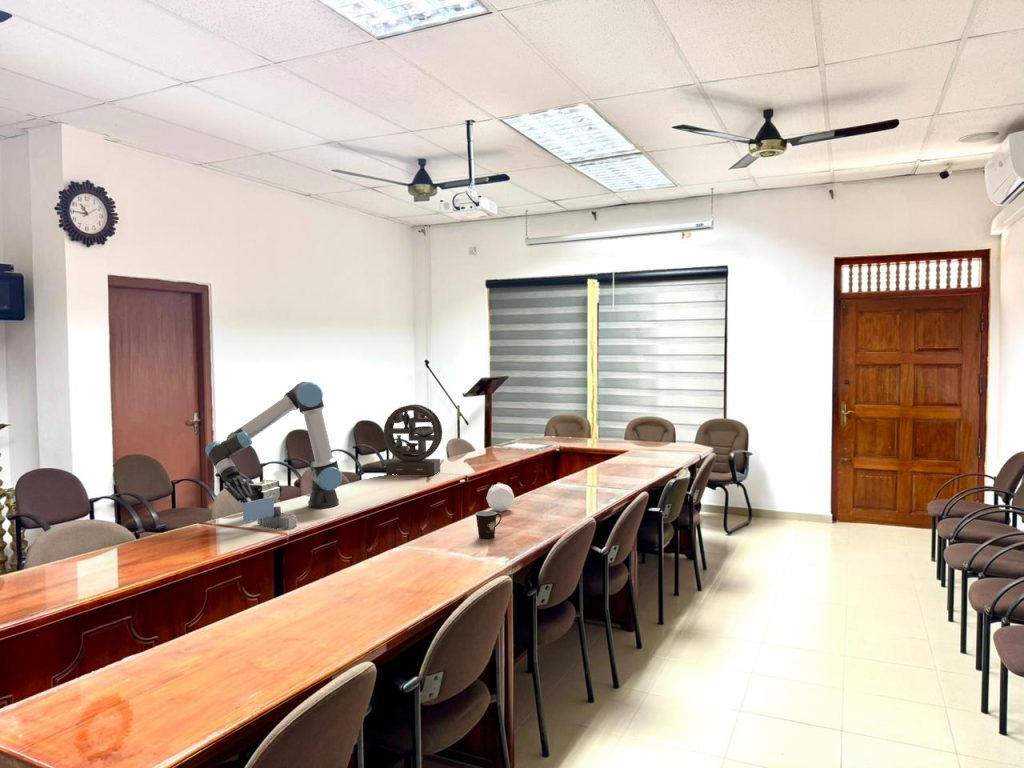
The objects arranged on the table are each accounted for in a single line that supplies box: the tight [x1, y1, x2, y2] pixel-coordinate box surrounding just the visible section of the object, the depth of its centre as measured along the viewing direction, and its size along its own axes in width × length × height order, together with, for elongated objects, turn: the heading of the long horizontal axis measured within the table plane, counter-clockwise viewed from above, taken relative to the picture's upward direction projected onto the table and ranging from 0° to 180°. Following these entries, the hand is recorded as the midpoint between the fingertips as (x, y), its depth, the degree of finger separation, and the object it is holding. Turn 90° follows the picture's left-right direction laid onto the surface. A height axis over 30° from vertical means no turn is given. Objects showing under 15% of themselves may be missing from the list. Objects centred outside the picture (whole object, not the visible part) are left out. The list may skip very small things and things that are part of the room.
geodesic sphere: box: [486, 482, 515, 513], centre depth 327 cm, size 14×14×14 cm
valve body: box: [256, 512, 297, 530], centre depth 304 cm, size 8×20×5 cm, turn 61°
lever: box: [242, 497, 282, 523], centre depth 297 cm, size 19×4×8 cm, turn 151°
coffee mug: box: [475, 510, 502, 540], centre depth 278 cm, size 12×9×10 cm
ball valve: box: [249, 478, 283, 503], centre depth 324 cm, size 18×8×18 cm, turn 162°
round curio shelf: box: [383, 403, 443, 477], centre depth 439 cm, size 37×19×45 cm, turn 83°
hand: (253, 510), depth 301 cm, fingers closed
